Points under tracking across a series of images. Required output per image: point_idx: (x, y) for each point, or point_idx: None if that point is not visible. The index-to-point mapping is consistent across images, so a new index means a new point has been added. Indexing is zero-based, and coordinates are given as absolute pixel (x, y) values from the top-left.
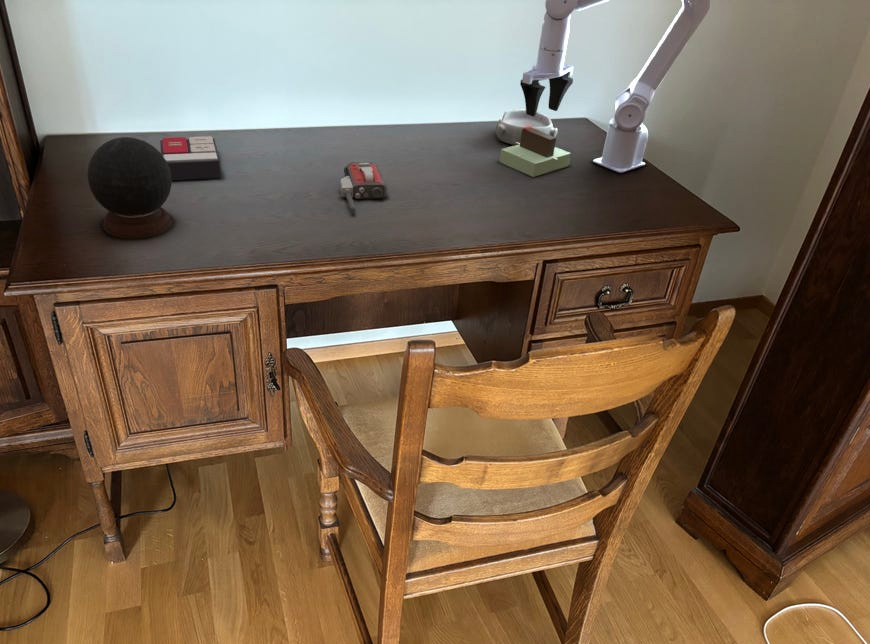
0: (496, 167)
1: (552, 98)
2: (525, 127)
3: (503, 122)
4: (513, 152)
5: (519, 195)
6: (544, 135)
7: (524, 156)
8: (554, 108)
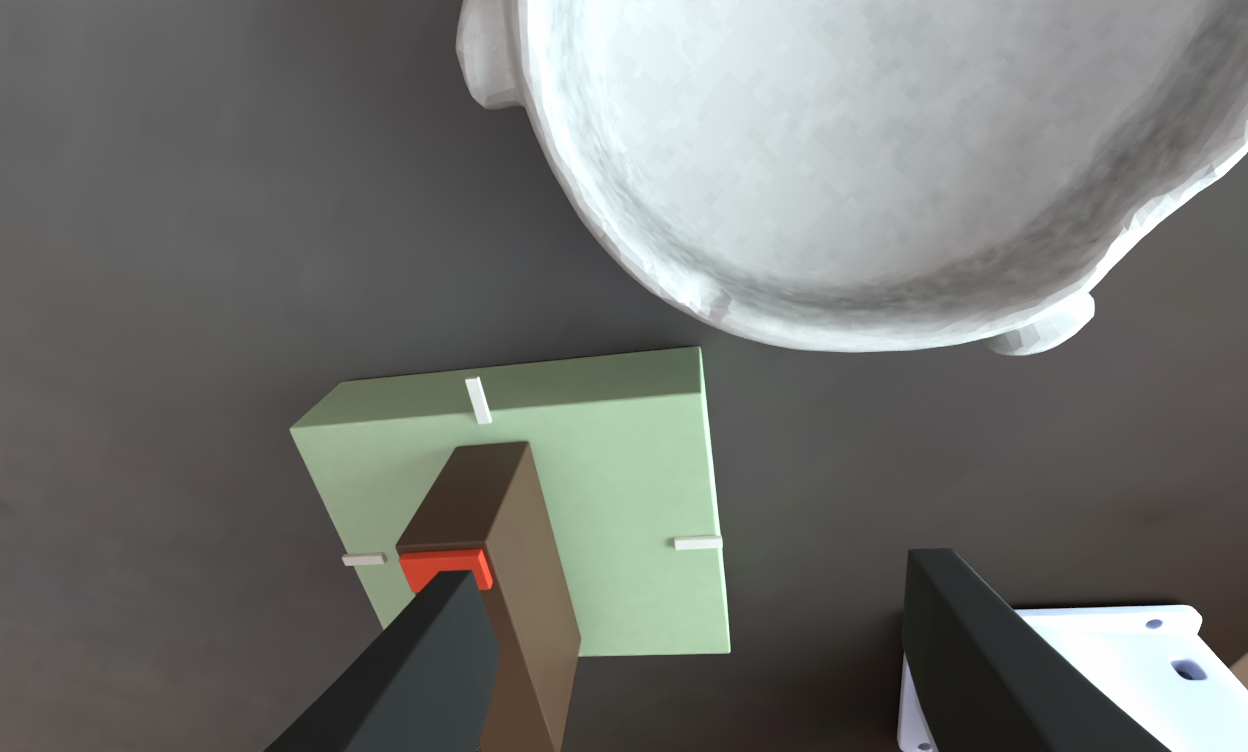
0: (289, 430)
1: (983, 721)
2: (416, 568)
3: (511, 30)
4: (350, 505)
5: (267, 678)
6: (494, 707)
7: (391, 574)
8: (913, 647)
